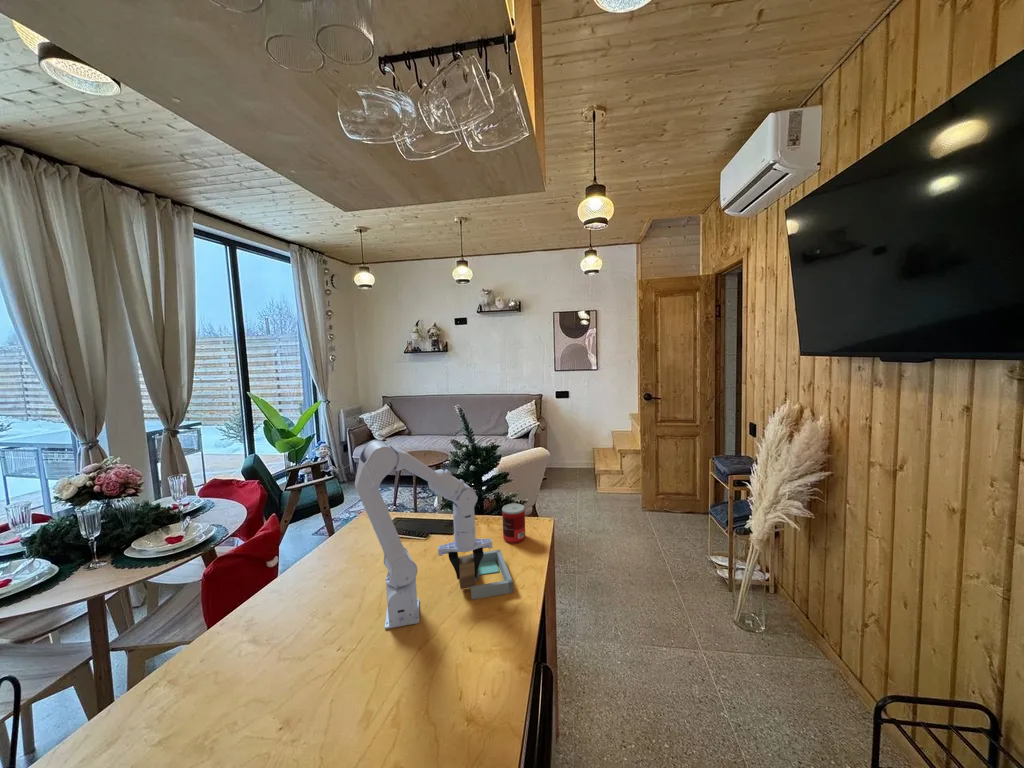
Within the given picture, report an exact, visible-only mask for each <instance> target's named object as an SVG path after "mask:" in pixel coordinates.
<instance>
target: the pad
mask: <svg viewBox="0 0 1024 768" xmlns="http://www.w3.org/2000/svg"><path fill="white" fill-rule="evenodd" d="M497 573H500V568H499V565H498V562H496V561H490V562H484V563H480V564H479V567H478V575H479V576H484V575H490V574H497Z"/></svg>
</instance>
